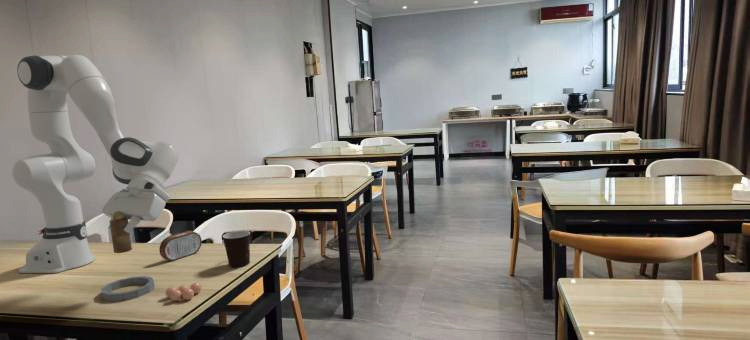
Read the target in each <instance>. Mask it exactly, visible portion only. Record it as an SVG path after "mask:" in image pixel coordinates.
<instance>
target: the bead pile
mask: <svg viewBox="0 0 750 340" xmlns="http://www.w3.org/2000/svg"><path fill="white" fill-rule="evenodd" d="M201 290H202V285H201V284H200V283H199V282H193V283H192V284H190V287H189V286H188V285H186V284H182V285H180V286H179V287H178V288H176V287H175V286H169V287H167V288H166V289H165V296H166V297H167V298H169V299H170V300H171V301H173V302H178V301H180V300H182V298H183V299H184V300H185V301H186V300H187V301H189V300H191V299H193V298H194V296H195V294H196V295H197V294H199V293H200V292H201Z"/></svg>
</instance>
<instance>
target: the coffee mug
mask: <svg viewBox="0 0 750 340" xmlns="http://www.w3.org/2000/svg"><path fill="white" fill-rule="evenodd" d="M222 240H223V244H224V248H225V253H226V257H227V261H228V265H229V267H230V268H235V269H236V268H242V267H243V268H244V267H247V266H249V265H250V263H251V262H250V261H251V260H250V257H251V255H250V254H251V253H250V252H251V232H250V231H249V230H236V231H235V230H234V231H230V232H227V233H225V234H223V235H222Z"/></svg>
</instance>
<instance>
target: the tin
mask: <svg viewBox="0 0 750 340" xmlns="http://www.w3.org/2000/svg"><path fill="white" fill-rule="evenodd" d="M201 247H202V237H201V235H200V234H199V233H198V232H195V231H193V230H187V231H183V232H180V233H176V234H172V235H169V236H166V237H165V238H164V239H163V240H162V241H161V242H160V245H159V254H160V256H161V258H162V259H164V260H166V261H167V260H168V261H177V260H179V259H183V258H186V257H189V256H192V255H195V254H196V253H198V252H199V250H200V249H201Z"/></svg>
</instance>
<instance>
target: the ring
mask: <svg viewBox="0 0 750 340" xmlns="http://www.w3.org/2000/svg"><path fill="white" fill-rule="evenodd" d="M133 285H143V286H140V287H138V288H136V289H131V290H128V291H127V290H126V291H119V292H112V291H115V290H117V289H120V288H124V287H127V286H128V287H129V286H133ZM153 289H155V281H154V279H153V277H152V276H148V275H147V276H145V275H139V276H131V277H126V278H121V279H118V280H114V281H112V282H109V283H107V284H106V285H104V286H103V287H101V297H102V300H103V301H107V302H121V301H122V302H123V301H127V300H131V299H136V298H140V297H142V296H144V295H146V294H149V293H151V292H152V291H153Z"/></svg>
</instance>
